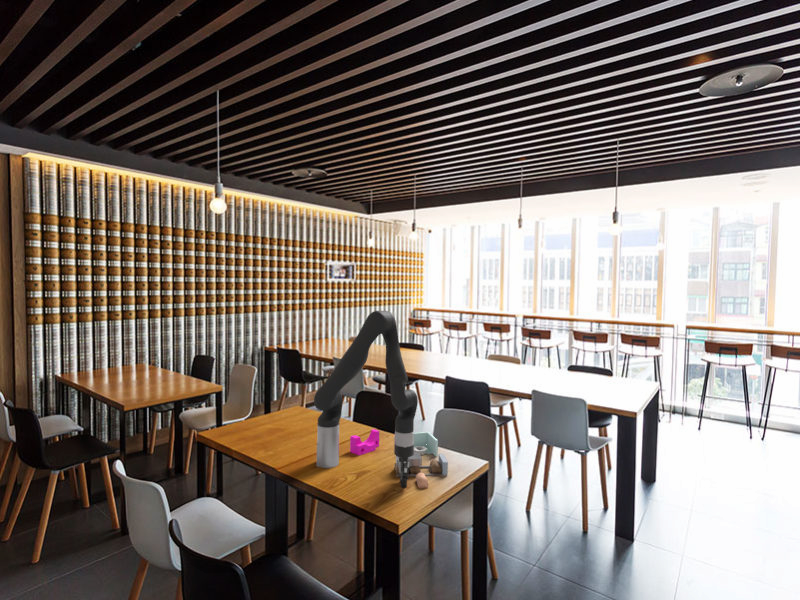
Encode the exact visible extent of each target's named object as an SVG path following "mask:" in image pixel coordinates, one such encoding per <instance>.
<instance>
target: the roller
mask: <svg viewBox="0 0 800 600" xmlns="http://www.w3.org/2000/svg"><path fill="white" fill-rule="evenodd" d="M425 474H426V473H424V472H421V473H418V474H417V475H416V476H415V480H416V484H417V486H418V488H419V489H426V488H427V489H428V488H429V482H428V479H427V476H425Z"/></svg>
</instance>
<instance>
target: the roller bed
mask: <svg viewBox="0 0 800 600" xmlns="http://www.w3.org/2000/svg"><path fill="white" fill-rule="evenodd" d="M438 461H439V460H437V459H431V461H430V463H429V465H422V466H409V476H408V477H416V475H417V474H418V473H422V472H421V469H429V472H430V473H424V474H425V476H426V477H429V476H432V477H434V476H438V475H442V476H443V474H442V468H441V466H440V464H439V462H438ZM394 470H395V476H396V477H400V475H401V474H399V472H400V471H399V467H397V464H396V462H394ZM438 477H439V476H438Z"/></svg>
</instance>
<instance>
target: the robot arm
mask: <svg viewBox="0 0 800 600" xmlns="http://www.w3.org/2000/svg"><path fill="white" fill-rule="evenodd" d="M397 326H398V325H397V321H396V318H395V315H394V314H393V313H392V312H391V311H388V310H374V311H372V312H370V313H369V314H368V316H367V317H366V319H365V320H364V322H363V324H362V327H361V328H360V330H359V332H358V333H357V335H356V337H355V338H354V340H353V341H352V343H351V344H350V345H349V347H348V348H347V350H346V351H345V352H344V354H343V356H342V357H341V359H340V360H339V362H338V363H337V364H336V366H335V367H334V369H333V370H332V372H331V373H330V375H329V376H328V378H327V379H326V380H325V382H324V383H323V384H322V385H321V386H320V387H319V389H317V391H316V393H315V394H314V398H313V403H314V406H315V408H316V409H317V410H319V411H322V412H321V414H320V415H319V416H318V418H317V430H316V431H317V434H316V435H317V436H316V437H317V439H316V467H317V468H321V467H322V469H332V468H336V467H337V466H339V464H340V462H339V461H340V422H341V421H340V420H341V418H342V412H343V410H342V409H343V394H342V391H341V390H342V389H343V388H344V386H346V385H347V384H348V383H350V381H352V380H353V379H354V378H355V377H356V376H357V375H358V374H359V373H360V372H361V370H362V369H363V368H364V366H365V365H366V363H367V361H368V357H369V351H370V348H371V346H372V344H373V343H374V342H375V341H376V339H377V338H378V337H379V336H380V335H382V337H383V341H384V344H385V359H384V360H385V361H384V362H385V368H386V372H387V373H386V374H387V376H388V379H389V383H390V385H389V386H390V400H391V404H392V406H393V408H395V410H397V411H398V412H400V413H399V414H398V415H397V416H396V417H395V420H394V421H395V423H394V424H395V428H394V431H395V432H394V442H393V443H394V447H393V449H394V450H393V453H394V456H395V457H396V456H397V457H399V458H398V462H399V471H400V472H399V474H401V475H400V476H399V483H400V487H401V488H407V486H408V480H409V477H410V476H409V474H410V468H409V457H411V456H413V454H414V433H415V432H414V427H415V426H414V425H415V423H414V420H415V417H416V413H417V409H418V408H417V407H418V404H419V401H418V400H419V399H418V395H417V393H416V392H415V391H414V390H413V389H411V388H410V389H405V384H406V383H407V382H408V381H409V377H408V374H407V371H406V367H405V364H404V361H403V357H402V352H401V348H400V342H399V335H398V328H397Z"/></svg>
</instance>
